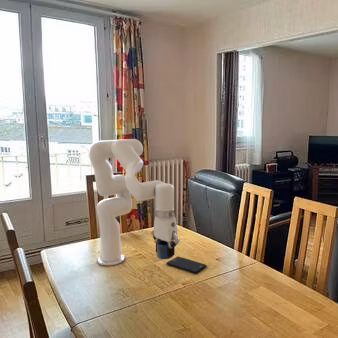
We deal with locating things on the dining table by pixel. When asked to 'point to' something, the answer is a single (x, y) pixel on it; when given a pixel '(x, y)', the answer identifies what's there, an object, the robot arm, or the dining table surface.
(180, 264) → the cell phone
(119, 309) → the dining table surface
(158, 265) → the dining table surface
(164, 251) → the blue plastic cup
